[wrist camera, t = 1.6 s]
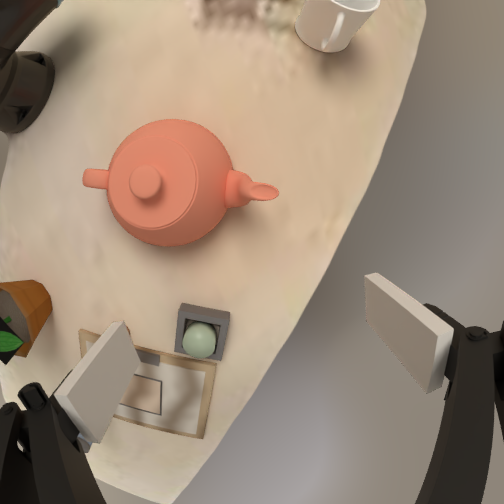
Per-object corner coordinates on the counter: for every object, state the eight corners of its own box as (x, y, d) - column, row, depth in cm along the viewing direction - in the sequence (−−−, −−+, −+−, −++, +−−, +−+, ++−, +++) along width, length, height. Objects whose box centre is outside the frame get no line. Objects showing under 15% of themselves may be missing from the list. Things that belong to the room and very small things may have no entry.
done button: (184, 343, 39) (181, 354, 36) (187, 317, 38) (183, 328, 35) (214, 349, 39) (212, 360, 36) (218, 323, 38) (217, 334, 35)
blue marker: (94, 407, 43) (73, 448, 31) (92, 396, 42) (68, 437, 30) (110, 413, 43) (90, 455, 31) (108, 402, 42) (86, 445, 31)
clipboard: (92, 406, 44) (89, 410, 42) (80, 328, 39) (76, 332, 38) (203, 436, 46) (202, 441, 45) (216, 363, 41) (216, 368, 40)
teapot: (274, 134, 34) (290, 110, 22) (257, 251, 38) (265, 282, 25) (116, 124, 33) (69, 103, 20) (105, 232, 36) (56, 253, 24)
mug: (338, 78, 32) (372, 43, 20) (281, 55, 31) (296, 11, 20) (354, 24, 30) (385, -14, 18) (303, 3, 29) (321, -42, 17)
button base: (177, 342, 40) (174, 351, 38) (182, 302, 39) (178, 310, 36) (222, 351, 41) (221, 360, 39) (229, 312, 39) (229, 320, 37)
